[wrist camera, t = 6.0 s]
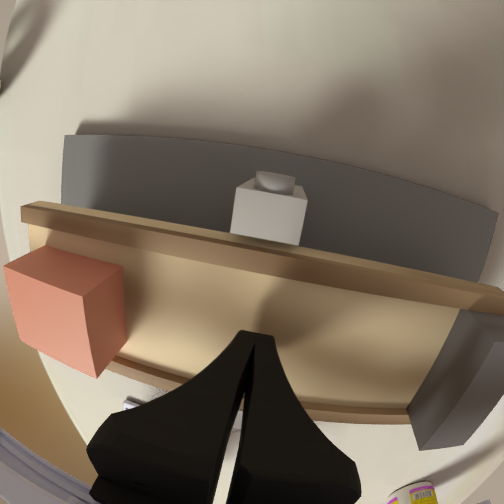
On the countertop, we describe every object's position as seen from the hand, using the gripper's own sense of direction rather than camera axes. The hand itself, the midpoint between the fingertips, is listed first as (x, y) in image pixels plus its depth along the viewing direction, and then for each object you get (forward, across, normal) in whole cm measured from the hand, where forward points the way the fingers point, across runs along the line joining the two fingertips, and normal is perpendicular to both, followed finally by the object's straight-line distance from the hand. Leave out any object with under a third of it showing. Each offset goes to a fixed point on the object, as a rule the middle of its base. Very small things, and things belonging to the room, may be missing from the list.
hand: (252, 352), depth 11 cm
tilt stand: (+6, 0, 0) cm, 6 cm away
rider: (+1, +8, 0) cm, 9 cm away
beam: (+1, 0, 0) cm, 1 cm away
